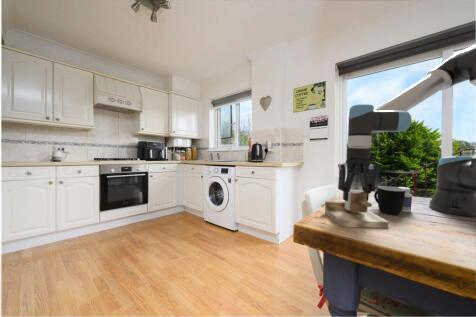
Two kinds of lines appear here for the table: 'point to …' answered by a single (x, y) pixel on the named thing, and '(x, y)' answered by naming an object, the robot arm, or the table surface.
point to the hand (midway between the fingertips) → (354, 209)
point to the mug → (390, 199)
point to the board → (352, 216)
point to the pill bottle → (406, 200)
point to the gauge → (358, 201)
